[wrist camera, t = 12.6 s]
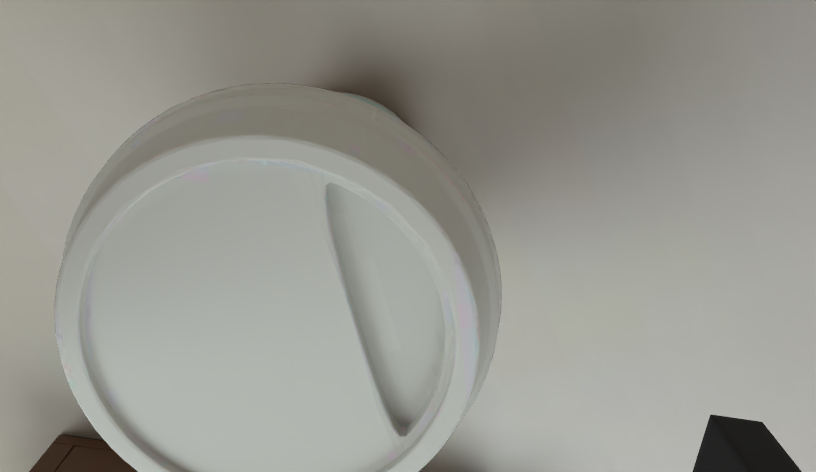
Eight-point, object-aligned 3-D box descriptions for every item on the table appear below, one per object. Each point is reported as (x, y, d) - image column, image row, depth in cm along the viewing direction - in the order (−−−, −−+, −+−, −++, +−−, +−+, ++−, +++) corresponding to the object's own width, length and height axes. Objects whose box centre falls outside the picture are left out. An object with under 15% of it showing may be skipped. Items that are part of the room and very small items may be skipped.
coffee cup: (420, 328, 26) (422, 593, 14) (184, 256, 25) (-12, 476, 14) (505, 96, 23) (590, 194, 12) (244, 8, 22) (65, 22, 11)
